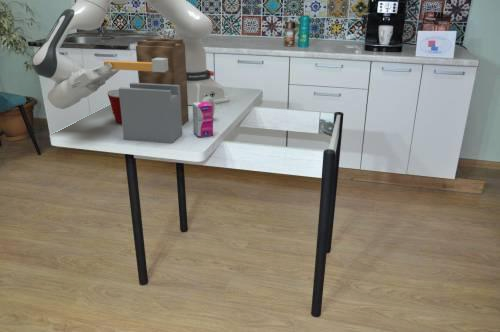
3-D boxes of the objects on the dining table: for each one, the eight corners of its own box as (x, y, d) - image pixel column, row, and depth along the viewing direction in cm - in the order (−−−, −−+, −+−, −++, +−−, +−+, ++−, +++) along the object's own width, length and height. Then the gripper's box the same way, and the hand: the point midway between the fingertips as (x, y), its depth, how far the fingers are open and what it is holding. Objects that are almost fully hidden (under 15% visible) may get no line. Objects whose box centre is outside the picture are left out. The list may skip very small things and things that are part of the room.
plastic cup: (131, 126, 181) (128, 95, 177) (105, 125, 183) (101, 94, 178) (142, 118, 191) (139, 88, 187) (116, 117, 193) (113, 87, 188)
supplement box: (198, 138, 168) (196, 106, 164) (193, 133, 173) (191, 102, 169) (213, 136, 170) (212, 104, 166) (208, 131, 176) (207, 100, 171)
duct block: (123, 139, 167) (118, 88, 160) (136, 130, 176) (132, 82, 169) (172, 143, 163) (168, 91, 156) (182, 134, 172) (179, 85, 165)
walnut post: (142, 126, 181) (135, 41, 169) (155, 118, 191) (149, 37, 179) (177, 129, 177) (172, 43, 166) (188, 120, 188) (184, 38, 176)
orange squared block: (103, 69, 162) (102, 57, 161) (109, 67, 166) (107, 55, 164) (163, 72, 158) (162, 60, 156) (168, 70, 161) (167, 58, 160)
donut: (206, 125, 182) (205, 99, 178) (198, 124, 183) (197, 99, 179) (216, 118, 191) (215, 94, 187) (208, 117, 192) (207, 93, 188)
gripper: (63, 80, 158) (93, 60, 153) (95, 68, 176) (123, 50, 171) (74, 96, 159) (104, 77, 154) (105, 83, 178) (133, 66, 172)
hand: (114, 63), depth 163 cm, fingers closed on orange squared block, 2 cm apart
